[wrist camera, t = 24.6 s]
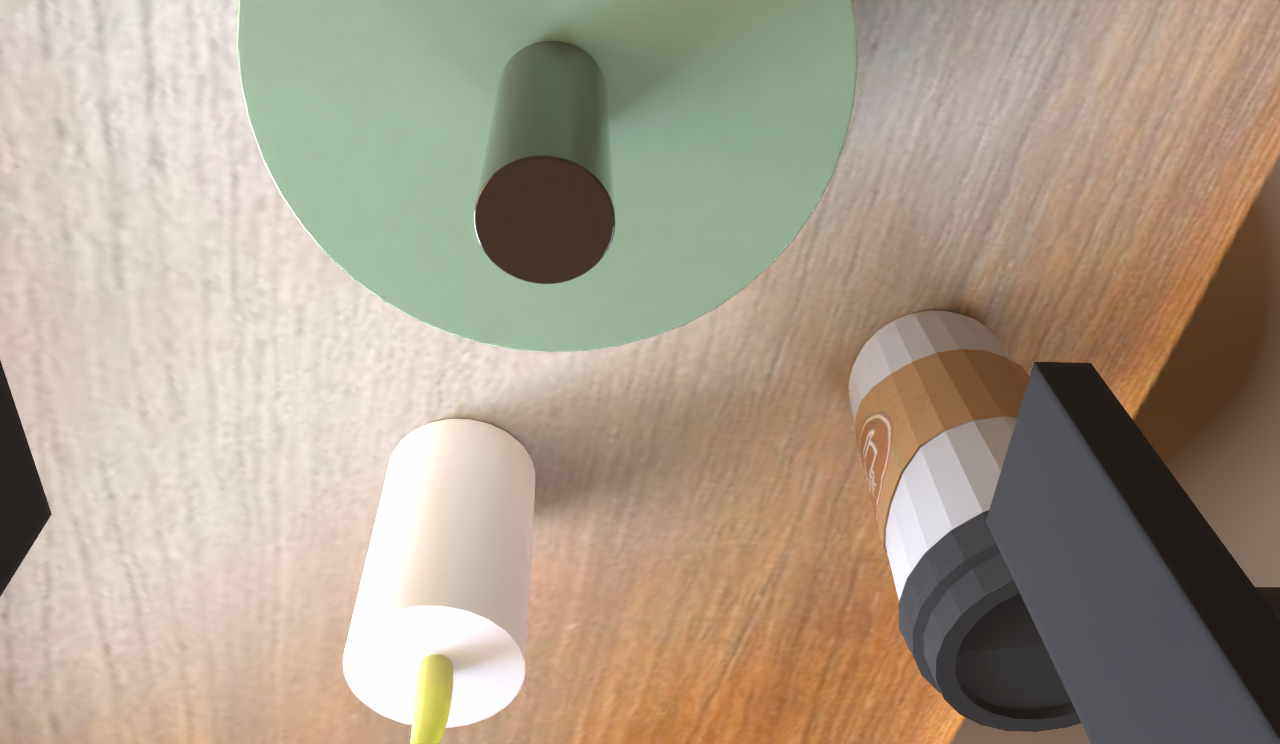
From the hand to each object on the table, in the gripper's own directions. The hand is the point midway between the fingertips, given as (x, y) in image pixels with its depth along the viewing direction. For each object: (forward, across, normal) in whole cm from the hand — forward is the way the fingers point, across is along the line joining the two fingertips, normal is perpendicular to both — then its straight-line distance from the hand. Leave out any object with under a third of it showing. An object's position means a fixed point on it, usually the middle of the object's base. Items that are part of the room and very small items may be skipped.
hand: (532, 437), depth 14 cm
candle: (+25, -4, -21) cm, 33 cm away
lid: (+14, 0, 0) cm, 14 cm away
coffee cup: (+25, +15, -15) cm, 33 cm away
